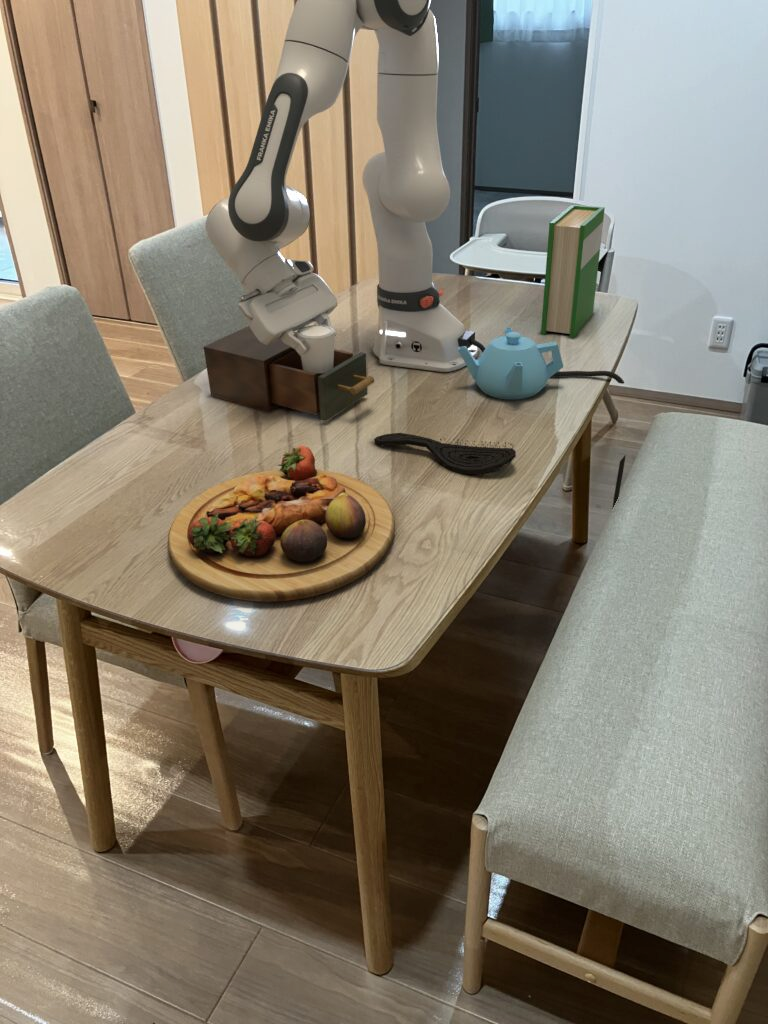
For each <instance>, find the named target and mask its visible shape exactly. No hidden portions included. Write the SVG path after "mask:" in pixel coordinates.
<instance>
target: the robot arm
mask: <svg viewBox="0 0 768 1024" xmlns="http://www.w3.org/2000/svg"><path fill="white" fill-rule="evenodd" d="M360 30H367V31H373V32H374V33H375V36H376V39H377V43H378V51H377V69H376V70H377V73H376V75H377V76H376V121H377V124H378V126H379V129H380V134H381V137H382V142H383V149H384V151H382V152H379V153H377V154H375V155H373V156H372V157H370V159H369V160H368V161H367V162H366V164H365V165H364V168H363V171H362V176H361V178H362V185H363V186H362V187H363V188H364V191H365V193H366V197H367V200H368V205H369V210H370V216H371V221H372V224H373V231H374V235H375V242H376V248H377V265H378V266H377V268H378V270H377V271H378V284H377V285H376V303H377V308H378V320H377V329H376V336H375V341H374V345H373V348H372V351H373V354H374V355H375V356H376V357H377V358H378V361H379V362H378V363H379V364H381V365H384V366H385V365H386V366H391V367H392V366H393V367H399V368H400V367H401V368H409V369H416V370H423V371H432V372H440V373H449V372H450V373H451V372H454V371H457V370H460V369H462V368H464V367H467V365H466V364H465V362H464V360H463V358H462V356H461V354H460V352H459V350H458V347H462V346H466V347H467V349H468V350H469V352H470V353H471V354H472V356H473V357H474V358H475V359H476V358H477V357H478V355H479V350H480V351H481V354H482V353H483V352H484V350H485V349H486V347H485V346H484V345H483V344H482V343H481V342H479V341H477V340H476V331H472V330H466V327H465V325H464V323H462V322H461V321H460V320H459V319H458V318H457V317H456V316H454V315H453V314H452V313H451V312H450V311H449V310H448V309H447V308H446V307H444V305H442V304H441V300H440V297H442V296H444V293H443V292H444V291H445V289H440V290H439V291H438V290H437V288H436V286H435V284H434V283H433V251H434V250H433V244H432V241H431V239H430V236H429V233H428V230H427V226H426V223H430V222H432V221H435V220H436V219H438V218H440V217H441V216H443V214H444V212H445V211H446V210H447V208H448V205H449V202H450V200H451V188H450V183H449V181H448V178H447V177H446V174H445V171H444V168H443V161H442V157H441V156H442V153H441V147H440V141H439V134H438V121H437V112H438V111H437V110H438V107H437V106H438V83H439V82H438V80H439V74H438V73H439V42H438V32H437V23H436V18H435V15H434V13H433V11H432V10H431V0H296V2H295V4H294V7H293V10H292V13H291V16H290V19H289V23H288V27H287V29H286V33H285V37H284V41H283V46H282V51H281V55H280V59H279V63H278V67H277V71H276V75H275V78H274V80H273V84H272V86H271V89H270V92H269V94H268V97H267V99H266V102H265V105H264V108H263V112H262V114H261V118H260V120H259V121H260V122H259V125H258V128H257V131H256V134H255V138H254V142H253V145H252V148H251V152H250V154H249V158H248V161H247V163H246V167H245V168H244V171H243V172H242V174H241V175H240V177H238V180H237V181H236V182H235V184H234V186H233V187H232V190H231V191H230V194H229V197H225V198H223V199H221V200H219V202H217V203H216V204H214V206H212V208H211V210H210V211H209V213H208V215H207V217H206V220H205V222H204V223H205V225H204V227H205V232H206V235H207V237H208V239H209V241H210V243H211V244H212V246H213V248H214V249H215V251H216V252H217V253H218V255H219V257H220V258H221V259H222V261H223V263H225V264H226V266H227V267H228V268H230V269H231V270H232V271H233V272H234V273H235V274H236V276H237V277H238V279H239V282H240V284H241V285H242V287H243V288H244V289H245V291H246V292H247V294H243V295H241V296H240V297H239V300H238V303H237V304H238V305H237V306H238V309H239V311H240V312H241V313H242V314H243V317H244V319H245V322H246V323H247V326H249V327H250V328H251V330H252V331H253V333H254V335H255V336H256V337H257V339H258V340H259V341H260V342H261V343H263V344H265V345H268V344H270V343H272V342H274V341H276V340H278V339H280V338H281V340H282V341H283V342H284V343H285V344H286V345H288V346H290V347H292V348H294V349H295V350H296V351H297V352H298V354H299V355H300V356H301V355H303V354H305V353H307V352H308V351H309V350H310V347H309V346H308V345H307V343H306V342H305V341H303V342H301V341H300V340H299V339H297V338H296V337H294V336H293V335H294V332H297V331H298V330H299V329H300V328H302V327H306V326H310V325H312V324H313V323H316V325H325V326H329V327H332V322H331V318H330V316H329V315H331V313H332V312H333V311H334V310H335V309H336V308H337V307H338V299H337V297H336V295H335V294H334V292H333V291H332V289H331V288H330V287H329V285H328V284H327V283H326V282H325V280H324V279H323V278H322V277H321V276H319V274H317V273H314V272H313V271H314V270H315V269H314V266H313V264H312V263H311V262H310V261H308V260H299V259H298V260H297V259H290V258H284V256H283V255H282V254H281V253H280V250H282V249H284V248H285V247H287V246H289V245H290V244H292V243H293V242H294V241H296V240H297V239H299V238H300V237H301V236H303V235H304V233H306V231H307V229H308V227H309V225H310V222H311V208H310V204H309V201H308V199H307V198H306V197H305V195H304V194H303V193H302V192H300V191H299V190H297V189H296V188H293V187H291V186H289V185H287V184H286V183H287V181H286V180H287V175H288V171H289V167H290V165H291V162H292V161H291V160H292V157H293V154H294V151H295V148H296V145H297V141H298V138H299V135H300V132H301V130H302V128H303V127H304V125H305V124H306V123H307V121H309V119H312V118H313V117H314V116H316V115H318V114H320V113H323V112H325V111H327V110H328V109H330V108H331V107H333V105H335V103H336V101H337V100H338V97H339V95H340V93H341V91H342V88H343V86H344V84H345V80H346V77H347V73H348V69H349V64H350V59H351V55H352V51H353V45H354V40H355V38H356V36H357V34H358V32H359V31H360ZM332 328H333V327H332ZM335 337H337V333H336V332H335ZM478 349H479V350H478ZM551 377H560V378H561V377H562V378H563V377H608V378H612V379H613V380H615V381H616V382H617V383H618V384H625V381H624V379H623V378H622V377H621V376H620V375H618V374H617V373H615V372H613V371H609V370H593V371H587V370H586V371H585V370H566V371H565V370H564V371H558V372H556V373H555V374H554V375H552V376H551ZM626 455H627V454H624V456H623V457H622V458H621V460H620V461H619V464H618V470H617V476H616V482H615V483H616V484H615V487H614V495H613V500H612V501H613V502H612V509H613V507H614V505H615V503H616V501H617V499H618V497H619V498H620V492H621V487H622V480H623V475H624V468H625V461H626ZM618 500H619V499H618ZM612 509H611V510H612Z"/></svg>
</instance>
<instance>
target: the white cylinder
mask: <svg viewBox="0 0 768 1024" xmlns="http://www.w3.org/2000/svg"><path fill="white" fill-rule="evenodd" d="M296 332H297V337H298V339H299V340H300V341H301V342H303V341H305V342H306V343H307V345H308V346H309V347H310V350H309V351H308V352H307V353H305V354H303V355H301V360H302V366H303V370H304V371H308V372H312V373H316V374H317V373H325V372H327V371H329V370H331V369H332V368H333V364H334V349H335V339H336V336H335V333H336V331H335V328H334V327H329V326H325V325H318V324H313V325H312V324H309V325H307V326H305V327H302V328H300V329H298V330H296Z"/></svg>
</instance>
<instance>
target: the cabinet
mask: <svg viewBox="0 0 768 1024" xmlns="http://www.w3.org/2000/svg"><path fill="white" fill-rule="evenodd" d="M293 336H294V337H296V338H297V339H298V337H297V331H294V335H293ZM292 350H294V348H292V347H290V346H288V345H286V344H285V343H284V342H283V341H282V340H281V338H280V339H278V340H276V341H274V342H272V343H270V344H268V345H265V344H263V343H261V342H260V341H259V340H258V339H257V337H256V336H255V335H254V333H253V331H252V330H251V328H250V327H249V325H247V326H245V327H243V328H241V329H239V330H237V331H235V332H233V333H230V334H228V335H226V336H224V337H221V338H220V339H217V340H214V341H213V342H211V343H208V344H206V345H204V346H203V352H204V353H203V354H204V358H205V367H206V372H207V379H208V387H209V392H210V397H213V398H217V399H220V400H224V401H227V402H232V403H235V404H238V405H241V406H246V407H249V408H252V409H257V410H261V411H264V412H266V413H267V412H268V413H270V412H272V411H273V410H275V409H277V408H279V407H281V406H280V405H277V404H273V403H271V397H270V388H269V379H268V370H267V363H269V362H271V361H273V360H275V359H277V358H278V357H280V356H282V355H284V354H286V353H288V352H290V351H292Z"/></svg>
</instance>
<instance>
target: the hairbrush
mask: <svg viewBox="0 0 768 1024" xmlns="http://www.w3.org/2000/svg"><path fill="white" fill-rule="evenodd" d="M373 440H374V444H375V445H378V446H403V445H404V446H405V445H409V446H415V447H420V448H426V449H427V450H428V451H429V452H430V453H431V454H432V455H433V456H434V457H435V458H436V460H437V461H438V462H439V463H440V464H441V465H442V466H443V467H445V468H446V469H449V470H450V471H452V472H453V473H458V474H462V475H463V474H464V475H483V474H486V473H488V472H492V471H497V470H500V469H501V468H503V467H504V466H507V465H508V464H510V463H511V462H512V461H513V460H514V459H515V458H516V457H517V455H516V454H517V450H515V449H514V443H509V446H508V447H507V441H505V442H504V446H503V447H501V445H499V443H500V442H497V444H498V447H495V446H492V444H491V443H492V441H489V445H488V446H485V444H486V443H487V441H485V444H484V441H482V440H481V441H480V443H482V444H481V445H482V446H478V445H476V444H475V442H476V443H478V441H477V440H476V441H475V440H474V443H473V445H468V444H469V443H468V442H469V440H466V442H465V443H462V442H460V443H459V440H460V439H459V438H458V439H457V440H456V444H454V443H453V442H452V441H451V442H446V443H445V442H441V441H442V438H440V439H439V441H438V440H434V439H432V438H431V437H430V438H429V437H424V436H421V435H416V434H411V433H405V432H404V433H403V432H394V433H386V434H385V433H384V434H382V435H378V436H376V437H374V438H373ZM443 440H444V441H445V440H446V438H443ZM454 440H455V438H453V441H454ZM463 444H464V445H463ZM493 444H495V442H493ZM510 446H511V447H510Z"/></svg>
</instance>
